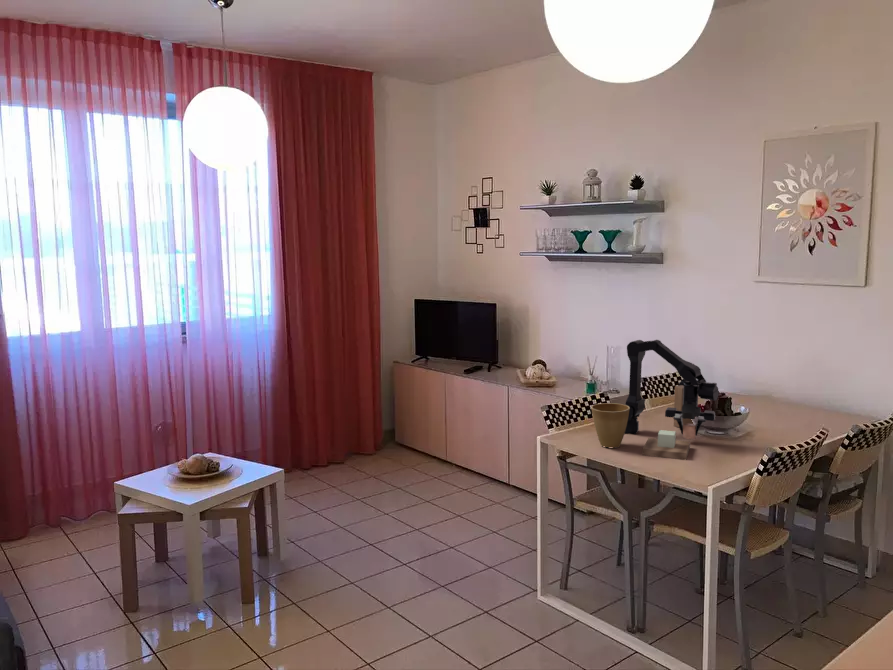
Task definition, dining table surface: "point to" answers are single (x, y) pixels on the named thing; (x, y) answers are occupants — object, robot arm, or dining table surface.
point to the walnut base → (666, 449)
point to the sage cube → (666, 438)
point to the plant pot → (610, 423)
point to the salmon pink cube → (689, 431)
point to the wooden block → (680, 404)
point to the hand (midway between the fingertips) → (689, 434)
